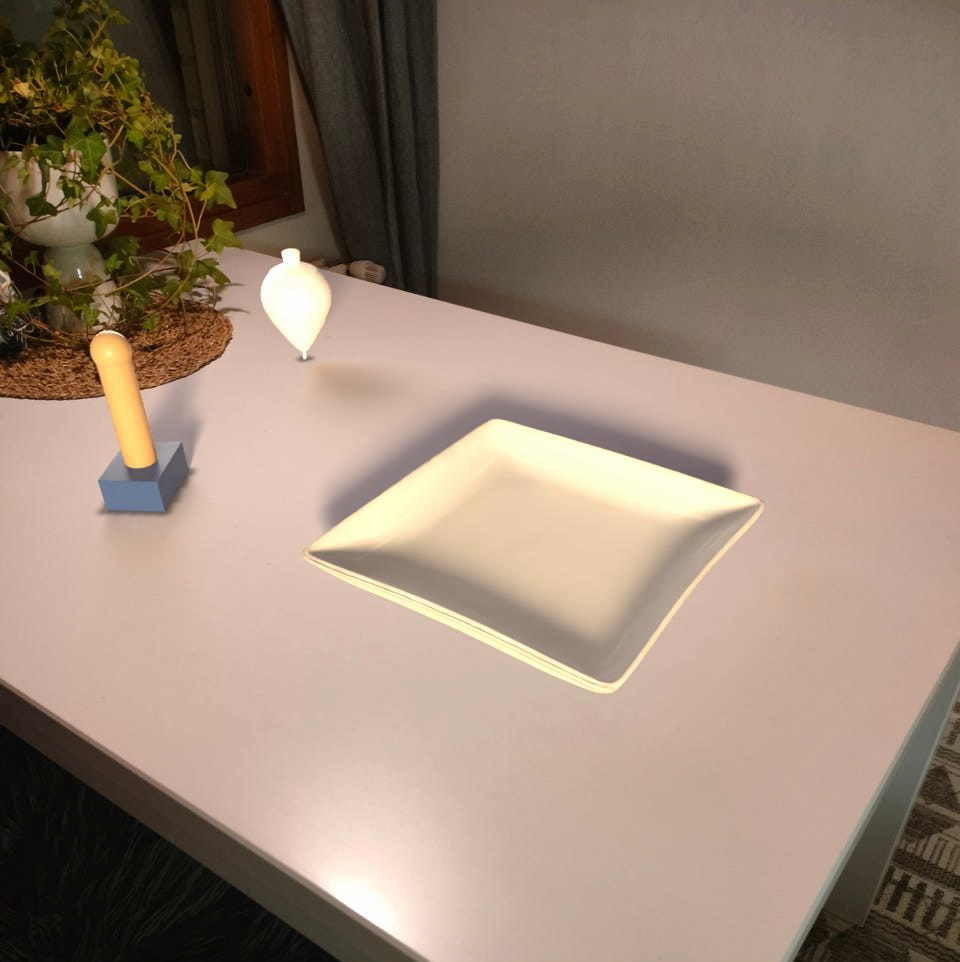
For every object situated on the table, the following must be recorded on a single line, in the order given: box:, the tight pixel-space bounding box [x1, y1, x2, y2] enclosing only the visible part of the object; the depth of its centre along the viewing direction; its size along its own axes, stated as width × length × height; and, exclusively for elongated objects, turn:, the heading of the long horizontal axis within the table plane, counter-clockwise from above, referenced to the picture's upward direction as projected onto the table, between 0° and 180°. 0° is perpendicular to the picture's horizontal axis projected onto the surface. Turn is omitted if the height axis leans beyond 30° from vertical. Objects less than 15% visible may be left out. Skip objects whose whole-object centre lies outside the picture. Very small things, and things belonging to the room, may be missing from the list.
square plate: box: [301, 417, 766, 694], centre depth 73 cm, size 27×27×4 cm
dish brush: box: [89, 330, 189, 512], centre depth 78 cm, size 5×7×15 cm
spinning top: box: [260, 247, 333, 360], centre depth 101 cm, size 8×8×12 cm
